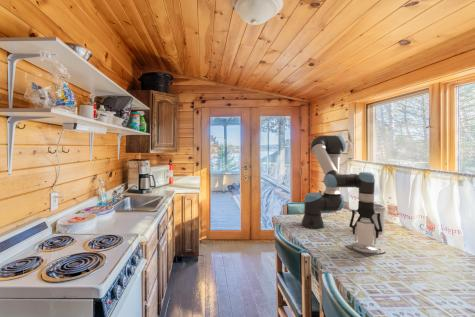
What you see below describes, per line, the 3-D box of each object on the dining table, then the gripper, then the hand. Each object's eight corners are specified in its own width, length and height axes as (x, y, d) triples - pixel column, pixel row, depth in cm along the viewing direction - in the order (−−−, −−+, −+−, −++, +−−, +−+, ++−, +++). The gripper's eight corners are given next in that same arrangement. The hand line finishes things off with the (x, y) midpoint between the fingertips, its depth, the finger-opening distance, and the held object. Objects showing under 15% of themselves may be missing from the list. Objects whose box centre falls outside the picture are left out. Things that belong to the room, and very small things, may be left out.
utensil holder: (380, 235, 157) (380, 208, 156) (356, 229, 168) (356, 204, 167) (388, 230, 167) (388, 205, 166) (365, 225, 178) (365, 201, 177)
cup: (378, 245, 132) (378, 222, 132) (367, 247, 128) (367, 225, 128) (363, 239, 140) (363, 218, 140) (352, 242, 136) (352, 220, 136)
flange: (345, 246, 139) (345, 243, 139) (363, 243, 144) (363, 240, 144) (365, 256, 126) (366, 253, 126) (385, 252, 130) (385, 250, 130)
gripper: (343, 199, 136) (343, 240, 137) (389, 204, 125) (388, 248, 126) (345, 197, 142) (344, 236, 143) (389, 201, 131) (387, 243, 132)
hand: (365, 241), depth 134 cm, fingers closed on cup, 9 cm apart
